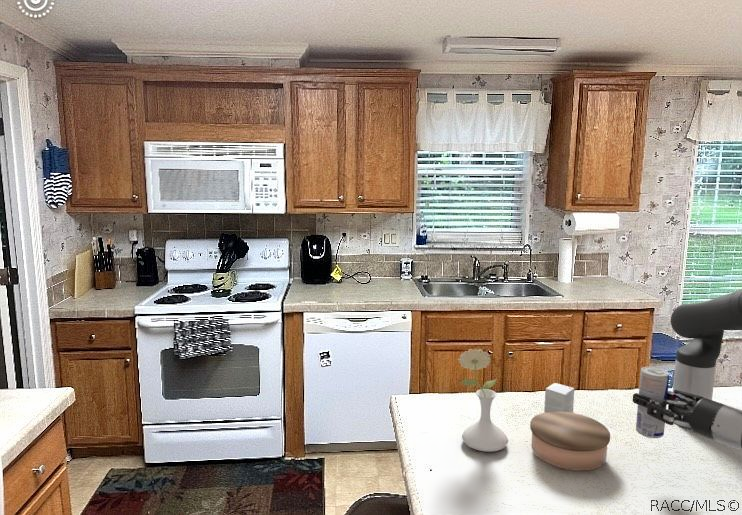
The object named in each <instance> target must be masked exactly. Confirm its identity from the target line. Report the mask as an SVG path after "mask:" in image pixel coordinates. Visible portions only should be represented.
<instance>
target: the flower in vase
mask: <svg viewBox="0 0 742 515" xmlns="http://www.w3.org/2000/svg"><path fill="white" fill-rule="evenodd" d="M457 360H458V362H459V364H460V366H461V367H462V368H463V369H465V370H466V369H468V370H469V371H474V378H475V380H473V379H471V378H466V379H464V380H462V381H461V382H460V383H459V385H464V386H468V387H473V386H475V385H476V384H477V385H478V387H479V388H480V389H477V390H476V392H475V394H476V396H477V397H478V400H479V402H480V418H479V420H478V421H476V422H474V423H472V424H471V425H469V426H468V427H466V428H465V429H464V431H463V432H462V434H461V438H462V439H461V440H463V442H464V444H465V445H467V447H469V448H470V449H474V450H476V451H481V452H487V453H488V452H497V451H501V450H503V449H504V448H505V447H506V446H507V445H508V444H509V443H508V442H509V439H508V436H507V434H506V433H505V431H504V430H502V429H501V428H500V427H499V426H497V424H495V423H494V422H492V419H491V407H492V402H493V401H494V399H495V398H496V396H497V392H496V391H494V390H492V389H491V388H493V387H494V386H495V385H496V384H497V380H498V379H497V378H495V379H493V380H488V381H485V383H484V384H483V385H482V386H481V385H480V383H479V382H478V379H477V378H478V377H477V370H482V369H485V368H487V366H489V364H490V363H491V362H492V361H491V357H490V354H489V353H488V352H487V351H483V349H482V348H479V349H478V348H474V349H472V348H469V349H468V351H467V350H464V352H461V354H460V356H459V358H457Z"/></svg>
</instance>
